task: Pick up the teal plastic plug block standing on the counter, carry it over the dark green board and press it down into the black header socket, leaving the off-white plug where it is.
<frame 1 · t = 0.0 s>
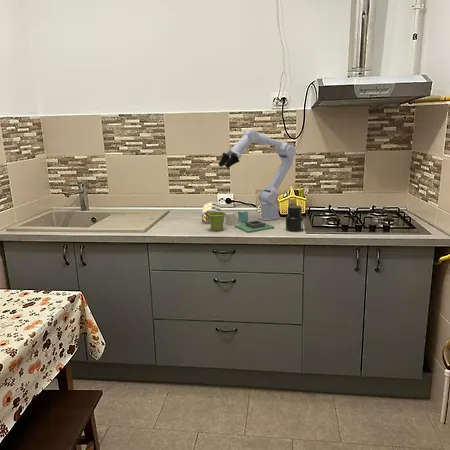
hand: (223, 166, 225), 32 cm above the worktop, tool tilted 50°, fingers open, 7 cm apart
ink bottle: (294, 230, 220), on the worktop
board: (254, 227, 226), on the worktop
offwhite plug: (230, 223, 236), on the worktop
teal plug: (243, 221, 240), on the worktop
plant pot: (217, 230, 225), on the worktop
yellow striped curved piece: (212, 219, 250), on the worktop
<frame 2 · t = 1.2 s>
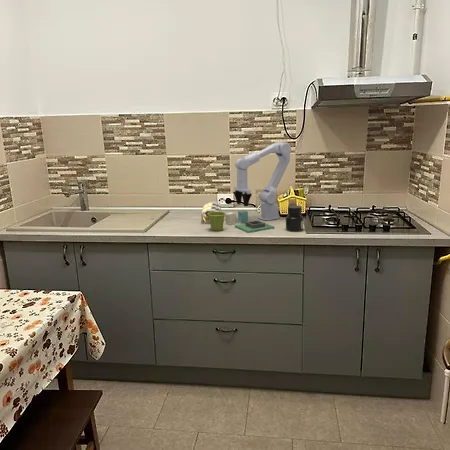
hand: (242, 205, 237), 10 cm above the worktop, tool pointing down, fingers open, 7 cm apart
nothing on the worktop moved.
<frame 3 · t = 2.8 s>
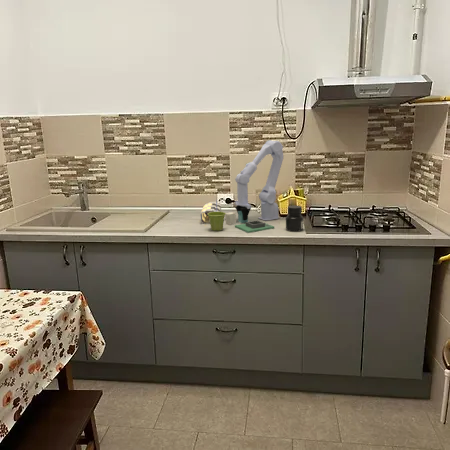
hand: (243, 219, 239), 1 cm above the worktop, tool pointing down, fingers closed on teal plug, 4 cm apart
teal plug: (243, 221, 240), on the worktop, touching gripper
everything else where it was.
when the fingers open (4 cm above the worktop, at t = 5.7 s): teal plug drops 1 cm, resting on board.
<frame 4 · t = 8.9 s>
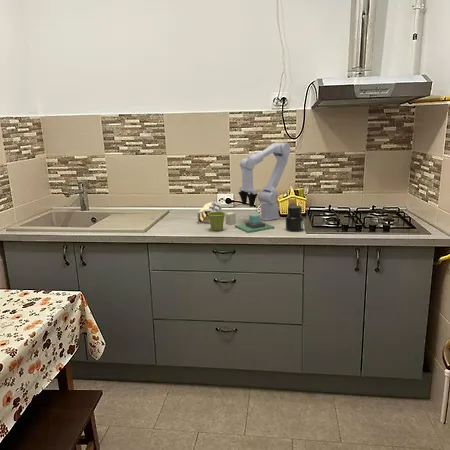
hand: (248, 205, 234), 10 cm above the worktop, tool pointing down, fingers open, 7 cm apart
teal plug: (254, 226, 225), point 1 cm above the worktop, touching board
at the end: teal plug 0.3 cm from the target spot on the board, point 1.0 cm above the board's base; teal plug tilted 0°; offwhite plug moved 0.1 cm from its start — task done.
